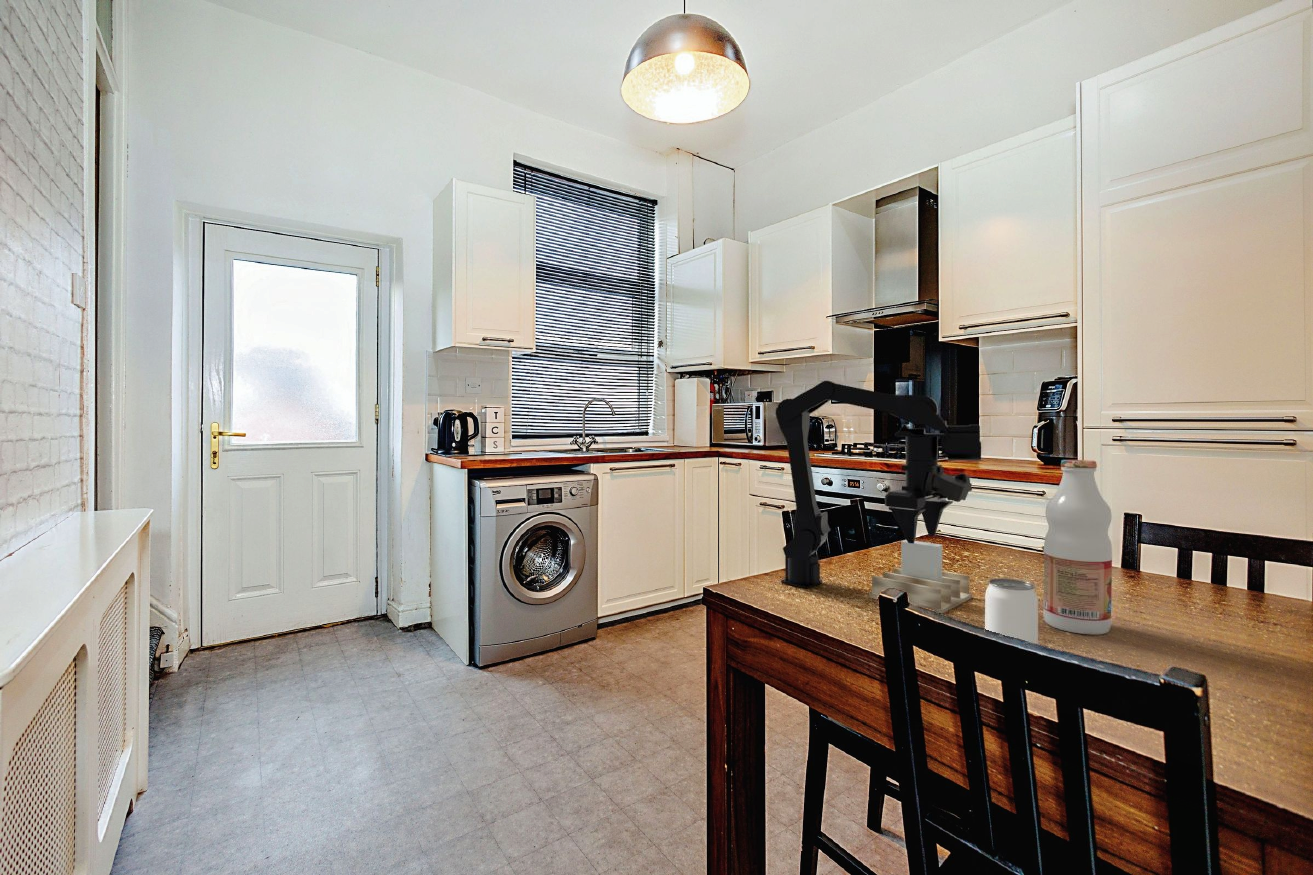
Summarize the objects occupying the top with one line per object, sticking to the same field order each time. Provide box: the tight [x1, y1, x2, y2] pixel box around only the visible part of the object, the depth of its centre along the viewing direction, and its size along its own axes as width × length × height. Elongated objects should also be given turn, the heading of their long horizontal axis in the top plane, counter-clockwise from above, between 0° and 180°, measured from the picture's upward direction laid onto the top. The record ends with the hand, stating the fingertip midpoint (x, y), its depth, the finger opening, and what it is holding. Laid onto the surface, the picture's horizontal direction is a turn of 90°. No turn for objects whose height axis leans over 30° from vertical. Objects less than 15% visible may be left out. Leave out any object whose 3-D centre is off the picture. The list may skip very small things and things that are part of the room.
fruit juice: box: [1042, 459, 1113, 636], centre depth 101 cm, size 9×9×28 cm
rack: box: [868, 567, 974, 615], centre depth 118 cm, size 14×14×4 cm
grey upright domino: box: [900, 539, 943, 583], centre depth 118 cm, size 7×2×10 cm, turn 43°
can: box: [984, 577, 1039, 645], centre depth 85 cm, size 6×6×12 cm
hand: (921, 539), depth 118 cm, fingers open, 9 cm apart
